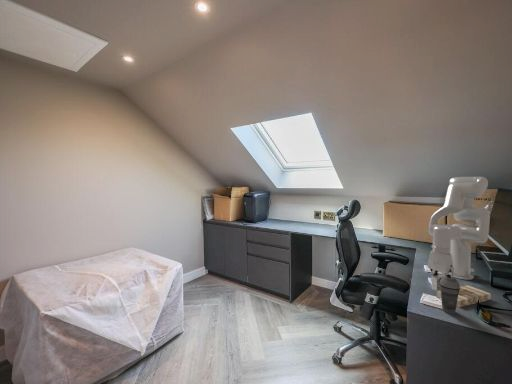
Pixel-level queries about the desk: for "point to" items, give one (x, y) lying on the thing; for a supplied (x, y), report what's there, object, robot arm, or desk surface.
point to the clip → (436, 282)
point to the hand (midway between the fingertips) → (440, 283)
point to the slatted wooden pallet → (469, 296)
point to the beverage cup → (449, 293)
